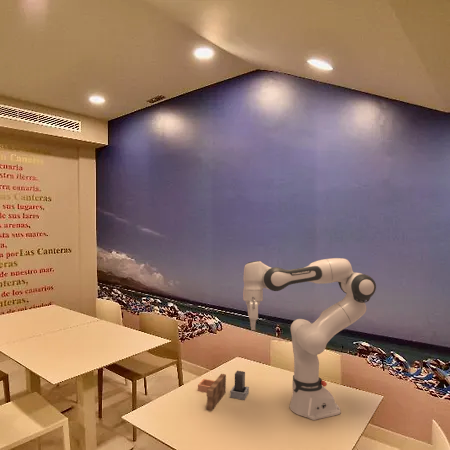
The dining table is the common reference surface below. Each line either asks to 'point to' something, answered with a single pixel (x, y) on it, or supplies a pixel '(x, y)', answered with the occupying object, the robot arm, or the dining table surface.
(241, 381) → the bar
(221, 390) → the door panel
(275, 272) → the robot arm
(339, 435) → the dining table surface
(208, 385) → the frame
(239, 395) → the frame
